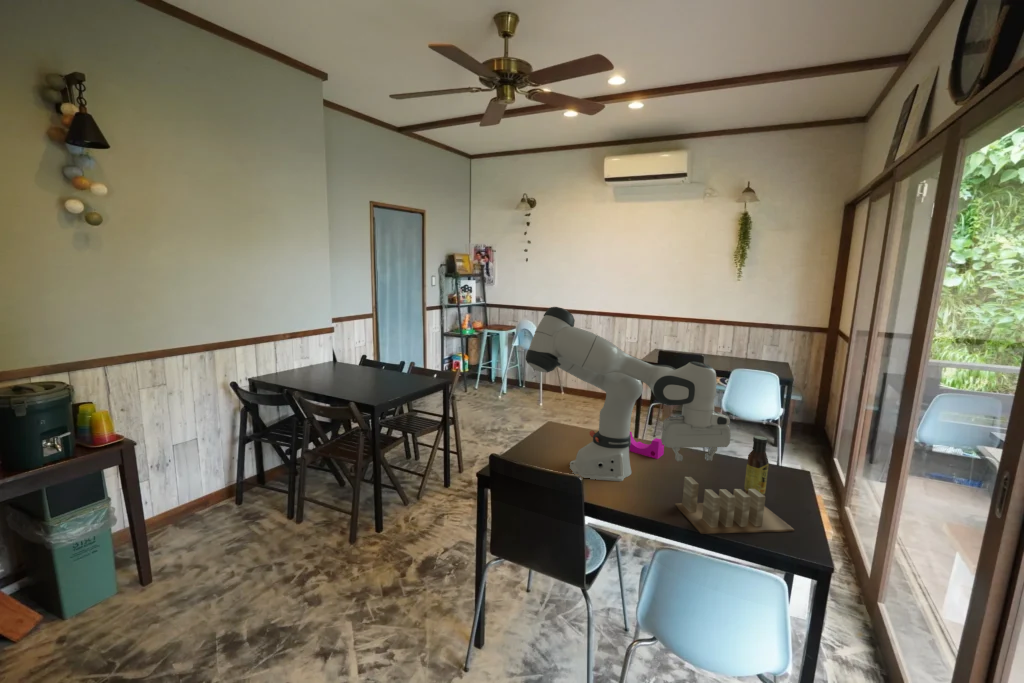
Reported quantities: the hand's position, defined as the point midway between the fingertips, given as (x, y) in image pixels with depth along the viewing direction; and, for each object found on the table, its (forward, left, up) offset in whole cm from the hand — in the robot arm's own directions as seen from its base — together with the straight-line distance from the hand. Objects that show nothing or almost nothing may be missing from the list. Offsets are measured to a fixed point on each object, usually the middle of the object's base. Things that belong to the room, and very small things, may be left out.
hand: (693, 460), depth 138 cm
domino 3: (+6, -8, -16) cm, 19 cm away
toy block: (+3, +46, -17) cm, 49 cm away
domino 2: (+2, -8, -16) cm, 18 cm away
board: (+11, -5, -16) cm, 20 cm away
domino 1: (0, 0, -16) cm, 16 cm away
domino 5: (+15, -8, -16) cm, 23 cm away
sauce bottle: (+27, +9, -16) cm, 33 cm away
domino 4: (+11, -8, -16) cm, 21 cm away
